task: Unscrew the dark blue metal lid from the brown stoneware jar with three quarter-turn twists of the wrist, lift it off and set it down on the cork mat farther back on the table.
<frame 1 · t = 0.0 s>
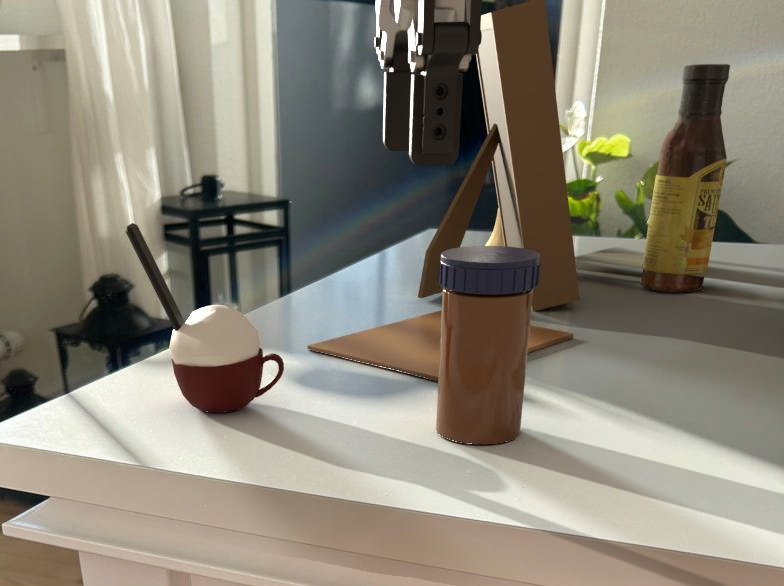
hand: (417, 157, 51), 17 cm above the table, tool pointing down, fingers open, 8 cm apart
cocoa: (215, 408, 72), on the table
lid: (489, 260, 61), point 11 cm above the table, screwed on, not yet turned
jar: (477, 431, 66), on the table
hand bell: (513, 257, 121), on the table
sauce bottle: (671, 290, 104), on the table
mat: (441, 344, 86), on the table
photo frame: (487, 289, 105), on the table
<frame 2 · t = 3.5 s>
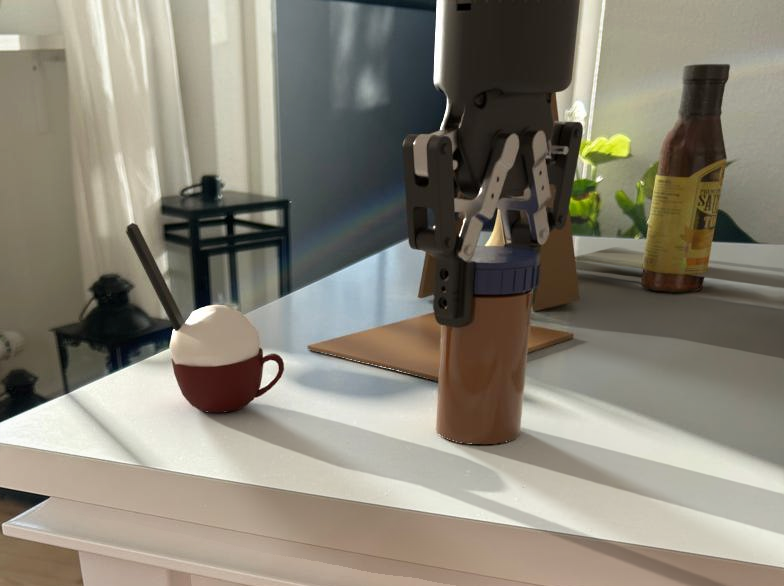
hand: (485, 314, 63), 7 cm above the table, tool pointing down, fingers closed on lid, 5 cm apart
lid: (489, 260, 61), point 11 cm above the table, screwed on, not yet turned, touching gripper
everything else where it was.
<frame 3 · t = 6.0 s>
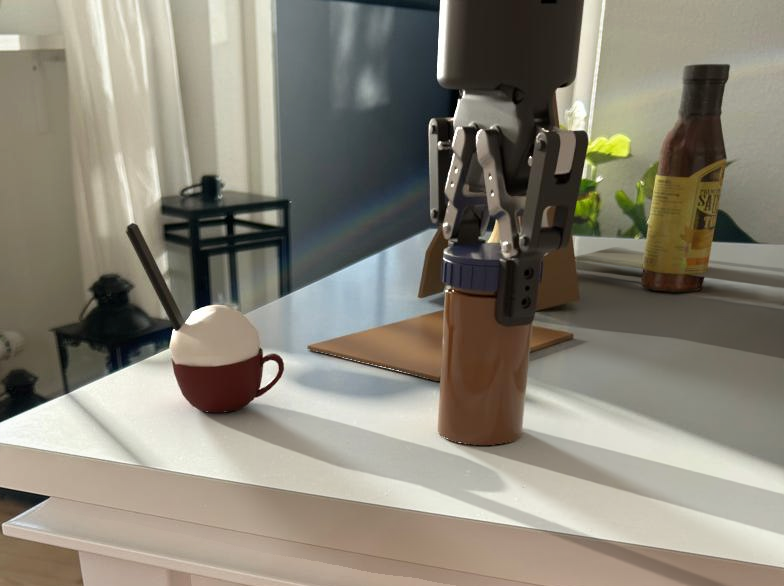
hand: (488, 311, 62), 8 cm above the table, tool pointing down, fingers closed on lid, 5 cm apart
lid: (492, 256, 61), point 11 cm above the table, turned 65° so far, risen 0.2 cm, still on its thread, touching gripper
everything else where it was.
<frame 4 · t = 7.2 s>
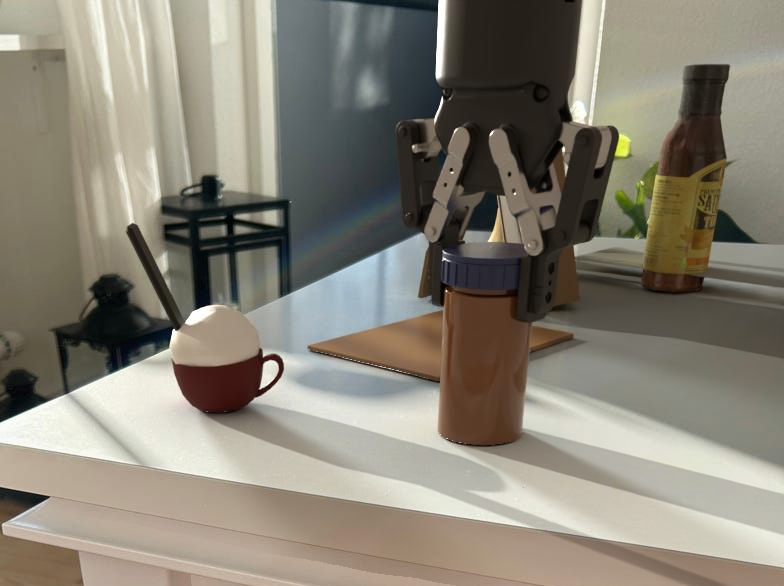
hand: (487, 311, 62), 8 cm above the table, tool pointing down, fingers closed on lid, 5 cm apart
lid: (491, 256, 61), point 11 cm above the table, turned 89° so far, risen 0.2 cm, still on its thread, touching gripper
everything else where it was.
when the fingers open (7 cm above the table, at t = 8.7 s): lid moves 1 cm, point 11 cm above the table.
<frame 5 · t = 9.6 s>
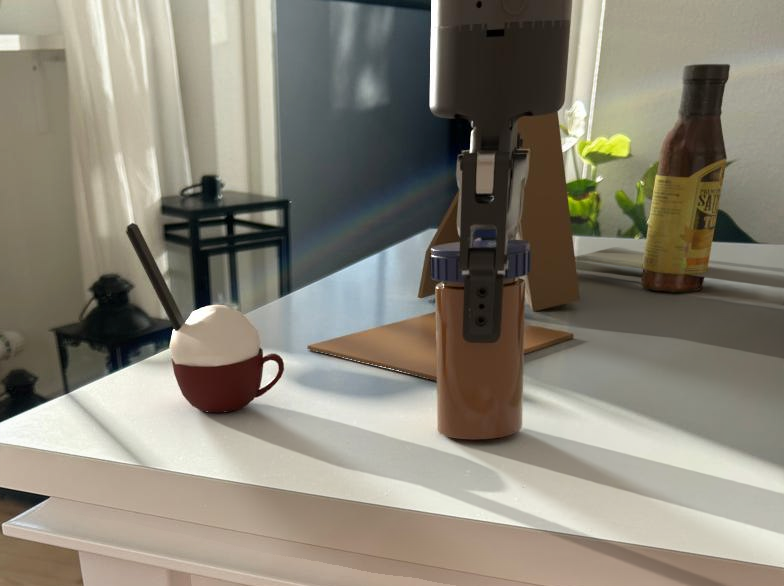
hand: (486, 325, 64), 7 cm above the table, tool pointing down, fingers open, 7 cm apart
lid: (480, 251, 61), point 11 cm above the table, tilted 5°, turned 76° so far, risen 0.2 cm, still on its thread
jar: (479, 428, 66), on the table, tilted 5°, touching gripper
everything else where it was.
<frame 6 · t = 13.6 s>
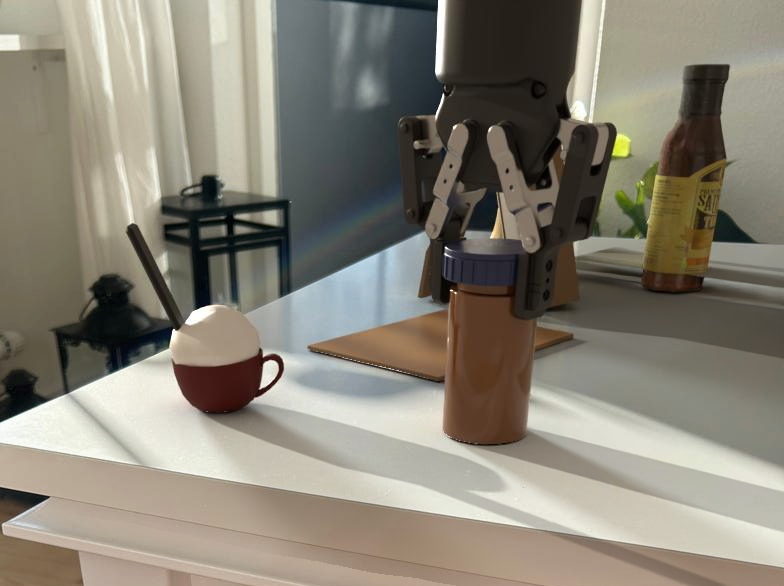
hand: (487, 308, 62), 8 cm above the table, tool pointing down, fingers closed on lid, 5 cm apart
lid: (493, 252, 61), point 11 cm above the table, off its thread, touching gripper
jar: (484, 431, 66), on the table, touching gripper
everything else where it was.
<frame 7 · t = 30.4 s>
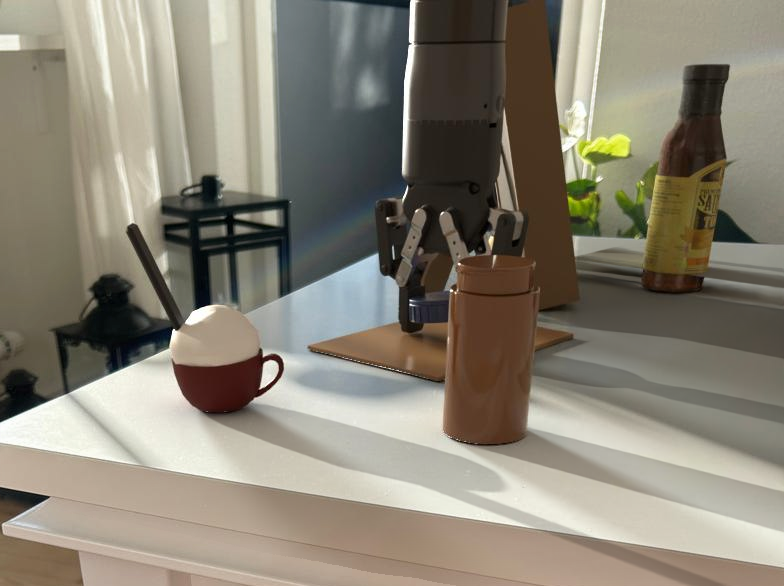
hand: (442, 337, 86), 1 cm above the table, tool pointing down, fingers closed on lid, 6 cm apart
lid: (444, 299, 84), point 4 cm above the table, tilted 7°, off its thread, touching gripper
jar: (484, 431, 66), on the table
everything else where it was.
when the fingers open (1 cm above the table, at t = 38.3 s): lid drops 3 cm, resting on mat.
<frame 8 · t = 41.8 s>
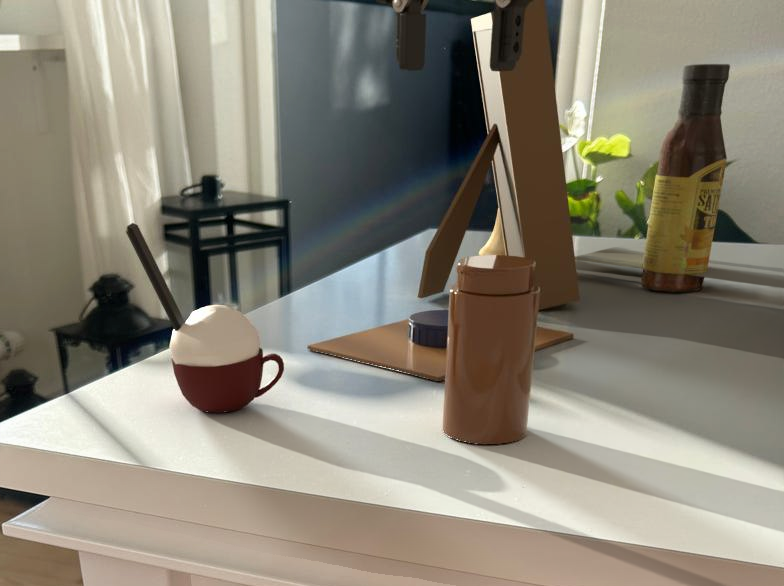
hand: (455, 70, 76), 20 cm above the table, tool pointing down, fingers open, 8 cm apart
lid: (444, 321, 85), point 2 cm above the table, off its thread, touching mat
everything else where it was.
at the end: the gripper is holding nothing; lid point 1.8 cm above the table; lid inside the target area on the mat (0.2 cm from its centre), point 1.8 cm above the mat's base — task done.
